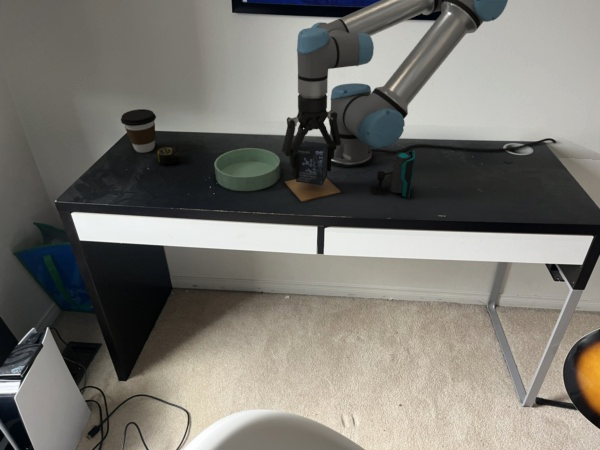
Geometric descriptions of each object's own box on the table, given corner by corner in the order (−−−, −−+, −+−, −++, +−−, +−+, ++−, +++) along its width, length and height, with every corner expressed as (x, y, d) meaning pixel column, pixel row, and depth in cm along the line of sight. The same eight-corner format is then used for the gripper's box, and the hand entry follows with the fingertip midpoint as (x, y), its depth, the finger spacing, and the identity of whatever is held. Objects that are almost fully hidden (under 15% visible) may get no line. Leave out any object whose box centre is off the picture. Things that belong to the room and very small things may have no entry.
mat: (321, 174, 142) (321, 173, 142) (340, 192, 133) (340, 191, 133) (284, 182, 138) (284, 181, 138) (301, 201, 129) (301, 200, 129)
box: (295, 182, 133) (295, 147, 127) (301, 173, 137) (301, 139, 131) (322, 186, 131) (323, 151, 125) (327, 177, 135) (328, 143, 129)
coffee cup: (136, 141, 164) (128, 107, 157) (166, 142, 162) (160, 109, 156) (122, 155, 155) (113, 120, 148) (154, 156, 153) (146, 121, 147)
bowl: (266, 156, 153) (265, 143, 150) (290, 182, 138) (290, 168, 136) (208, 168, 146) (206, 155, 144) (227, 197, 132) (225, 182, 129)
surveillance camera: (377, 147, 129) (414, 149, 128) (373, 185, 136) (409, 188, 135) (376, 156, 125) (415, 158, 123) (372, 195, 131) (409, 198, 130)
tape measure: (180, 164, 149) (179, 153, 146) (158, 167, 147) (156, 156, 145) (178, 155, 154) (176, 145, 152) (157, 158, 152) (154, 148, 150)
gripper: (343, 84, 127) (339, 160, 140) (266, 96, 119) (270, 175, 132) (357, 92, 121) (352, 170, 134) (278, 105, 114) (280, 186, 126)
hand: (311, 172), depth 133 cm, fingers closed on box, 9 cm apart
